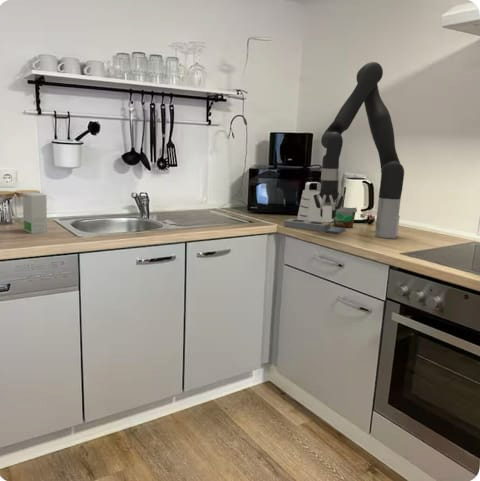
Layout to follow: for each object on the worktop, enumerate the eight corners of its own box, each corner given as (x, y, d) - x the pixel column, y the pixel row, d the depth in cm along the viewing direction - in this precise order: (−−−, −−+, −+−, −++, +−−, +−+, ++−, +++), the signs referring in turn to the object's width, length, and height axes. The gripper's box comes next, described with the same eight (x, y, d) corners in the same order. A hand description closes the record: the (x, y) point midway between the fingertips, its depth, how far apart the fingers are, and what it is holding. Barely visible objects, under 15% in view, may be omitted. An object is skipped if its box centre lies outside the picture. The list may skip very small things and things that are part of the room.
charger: (333, 221, 201) (334, 204, 199) (331, 222, 197) (331, 205, 196) (324, 220, 202) (325, 204, 201) (322, 221, 199) (322, 205, 197)
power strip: (329, 229, 215) (330, 222, 214) (324, 232, 207) (324, 224, 206) (290, 224, 224) (291, 217, 223) (283, 226, 216) (284, 220, 215)
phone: (345, 230, 213) (345, 228, 213) (338, 234, 203) (338, 232, 202) (332, 228, 216) (333, 226, 216) (325, 232, 205) (325, 230, 205)
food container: (327, 226, 222) (329, 206, 220) (331, 224, 227) (332, 205, 225) (352, 229, 216) (354, 208, 214) (355, 227, 222) (357, 207, 220)
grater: (297, 219, 241) (299, 181, 236) (313, 218, 245) (316, 181, 241) (307, 222, 231) (310, 183, 227) (324, 221, 236) (327, 183, 232)
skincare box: (23, 230, 185) (21, 192, 182) (39, 228, 190) (37, 192, 187) (32, 234, 180) (30, 194, 176) (48, 232, 184) (46, 194, 181)
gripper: (348, 179, 196) (345, 218, 200) (316, 177, 202) (314, 215, 206) (344, 180, 190) (341, 220, 193) (311, 178, 196) (309, 218, 199)
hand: (327, 217), depth 200 cm, fingers closed on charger, 4 cm apart
